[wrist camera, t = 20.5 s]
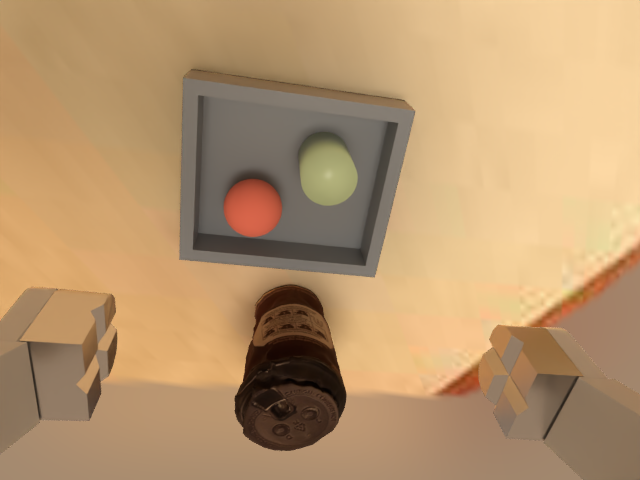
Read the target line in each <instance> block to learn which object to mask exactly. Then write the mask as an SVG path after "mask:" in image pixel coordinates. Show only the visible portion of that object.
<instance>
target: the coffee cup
mask: <svg viewBox="0 0 640 480" xmlns="http://www.w3.org/2000/svg"><path fill="white" fill-rule="evenodd" d="M255 319H256V325H255V327H254V333H253V340H252V341H251V343H250V345H249V349H248V353H247V356H246V364H245V373H244V378H243V383H242V384H241V385H240V388H239V390H238V393H237V395H236V396H235V414H236V417H237V420H238V422H239V423H240V424H241V425H242V427H243V428H244V429H243V434H244V435H245V436H246V437H247V438H249V440H251V441H252V442H254V443H256V444H258V445H260V446H262V447H264V448H268V449H272V450H281V451H282V450H285V451H291V450H295V449H299V448H303V447H306V446H309V445H313V444H314V443H315V442H317V441H318V440H320V439H321V438H322V437H324V436H325V435H327V434H328V433H330V432H331V431H333V430H334V428H335V427H336V425H337V424H338V421H339V418H340V417H341V414H342V412H343V410H344V408H345V403H346V390H345V387H344V384H343V380H342V376H341V374H340V369H339V365H338V362H337V357H336V352H335V349H334V346H333V342H332V338H331V333H330V330H329V327H328V324H327V322H326V320H325V318H324V314H323V308H322V305H321V303H320V301H319V300H318V298H317V297H316V295H315V294H314V293H312V292H311V291H309V290H307V289H304V288H301V287H297V286H283V287H279V288H276V289H274V290H272V291H270V292H268V293H266V294H264V295H263V297H262V298H261V299H260V300H259V301H258V302H257V303H256V307H255Z"/></svg>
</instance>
